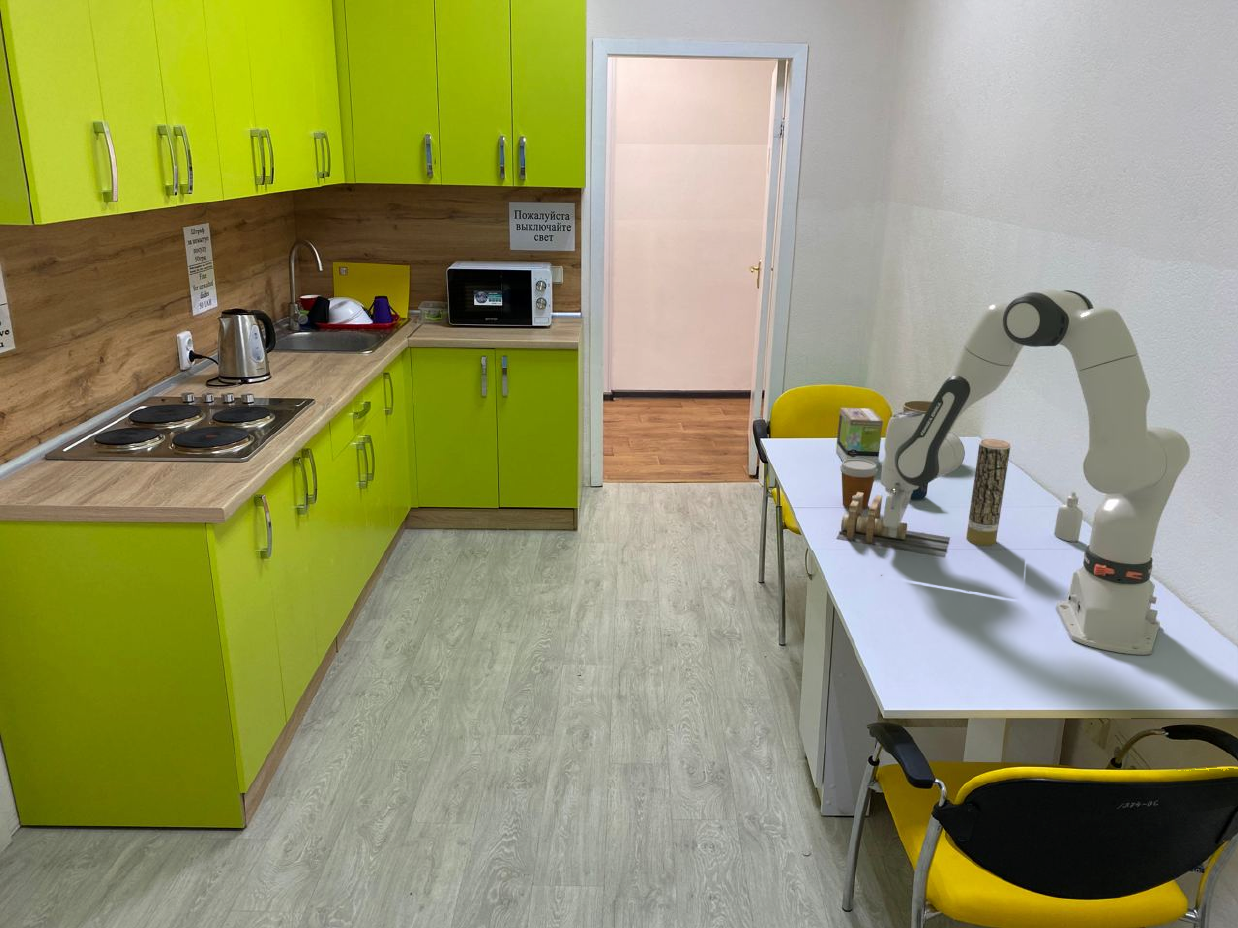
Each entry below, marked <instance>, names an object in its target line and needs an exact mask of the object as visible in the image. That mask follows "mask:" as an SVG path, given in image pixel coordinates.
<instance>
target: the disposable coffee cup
mask: <svg viewBox="0 0 1238 928" xmlns="http://www.w3.org/2000/svg"><path fill="white" fill-rule="evenodd" d="M839 470H840V471H841V490H842V491H841V493H842V506H843V507H845V508H847V509H849V508H850V504H851V503H852V501H853V499H852V496H854V495H856V494H857V492H861V493H864V495H863V505H862V510H865V509H867V508H868V506H869V502H870V497H871V494H872V490H873V485H874V481H875V476H876V475H877V473H878V468H877V467H876V464H875V463H873V462H870V461H867V460H861V459H849V460H845V461H842V462H841V465H840V466H839Z"/></svg>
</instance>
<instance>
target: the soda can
mask: <svg viewBox="0 0 1238 928" xmlns="http://www.w3.org/2000/svg"><path fill="white" fill-rule="evenodd" d="M928 488H929V483H928V484H926V485H923V486H919V487H918V488H917V489H915V490H913V493H912V494H911V497H910V501H923V500H924V499H925V497H926V496H927V494H928Z"/></svg>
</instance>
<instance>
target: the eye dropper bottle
mask: <svg viewBox="0 0 1238 928" xmlns="http://www.w3.org/2000/svg"><path fill="white" fill-rule="evenodd" d="M1076 493H1077V492H1076V491H1072V492H1071V494H1070V495H1068V496H1067V498H1066V503H1065V504H1061V505H1059V507H1058V509H1057V514H1056V520H1055V525H1054V533H1053V535H1054V537H1056V538H1058V539H1061V540H1063V541H1067V542H1071V543H1074V542H1078V541H1079V539H1080V533H1081V530H1082V521H1083V516H1084V512H1083V511H1082V509H1081V508H1079V507H1078V505H1079V503H1078V502H1079V497H1078V496H1077V495H1076Z"/></svg>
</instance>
